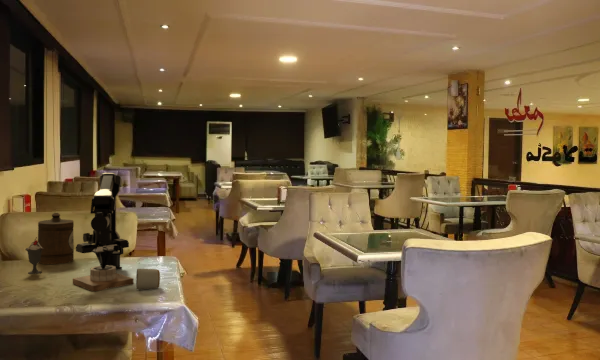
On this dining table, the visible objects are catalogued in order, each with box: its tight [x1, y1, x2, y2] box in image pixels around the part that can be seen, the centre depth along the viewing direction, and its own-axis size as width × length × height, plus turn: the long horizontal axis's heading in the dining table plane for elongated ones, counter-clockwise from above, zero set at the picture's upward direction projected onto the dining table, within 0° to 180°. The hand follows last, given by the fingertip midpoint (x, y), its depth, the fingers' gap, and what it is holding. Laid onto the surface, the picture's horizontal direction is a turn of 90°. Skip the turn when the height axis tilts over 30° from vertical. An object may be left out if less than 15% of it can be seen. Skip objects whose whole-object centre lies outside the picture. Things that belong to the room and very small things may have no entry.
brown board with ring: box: [72, 265, 134, 293], centre depth 199 cm, size 16×16×6 cm
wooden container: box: [37, 212, 75, 265], centre depth 236 cm, size 15×15×22 cm
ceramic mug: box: [135, 268, 161, 291], centre depth 194 cm, size 11×8×8 cm
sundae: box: [25, 236, 44, 275], centre depth 213 cm, size 7×7×15 cm
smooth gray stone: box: [96, 267, 110, 270], centre depth 199 cm, size 5×5×4 cm
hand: (103, 268), depth 198 cm, fingers closed, pressing on smooth gray stone
